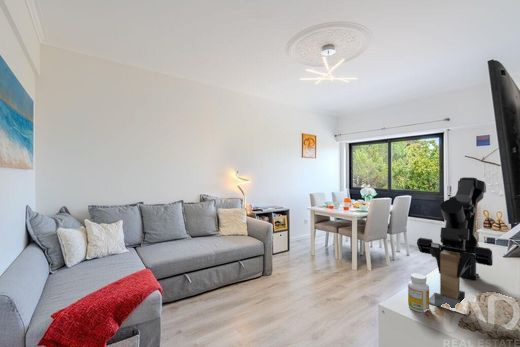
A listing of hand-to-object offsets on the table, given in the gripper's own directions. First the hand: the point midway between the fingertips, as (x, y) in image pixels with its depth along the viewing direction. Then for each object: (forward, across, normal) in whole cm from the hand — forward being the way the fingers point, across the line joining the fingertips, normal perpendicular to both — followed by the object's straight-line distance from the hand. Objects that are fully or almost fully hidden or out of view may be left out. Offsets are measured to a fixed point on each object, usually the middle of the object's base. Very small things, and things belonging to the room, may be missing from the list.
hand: (448, 275), depth 77 cm
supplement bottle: (+12, -6, +2) cm, 14 cm away
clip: (+6, 0, +8) cm, 9 cm away
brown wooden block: (+4, 0, +6) cm, 7 cm away
